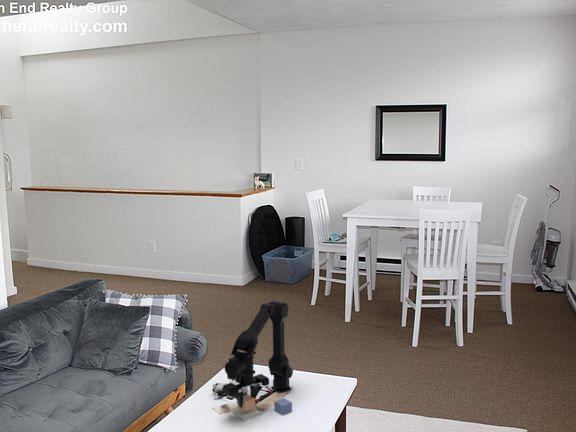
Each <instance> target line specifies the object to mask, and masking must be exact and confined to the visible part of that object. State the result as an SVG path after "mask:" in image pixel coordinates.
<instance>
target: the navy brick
mask: <svg viewBox="0 0 576 432" xmlns="http://www.w3.org/2000/svg"><path fill="white" fill-rule="evenodd" d="M273 404H274V405H273V407H274V409H273V410H274V412H275V413H277V414H279V415H281V416H284V415H287V414H290V413H291V412H293V402H292V401H290V400H288V399H286V398H280V399H278V400H275V401H274V403H273Z"/></svg>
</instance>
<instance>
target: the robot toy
mask: <svg viewBox="0 0 576 432" xmlns="http://www.w3.org/2000/svg"><path fill="white" fill-rule="evenodd" d="M229 383H233V384H234V385H237V384H239V382H238V383H237V382H236V380H233V381H232V379H230V381H228V383H227V382H223V383H222V382H221V383H219V382H218V383H217V382H216V383H213V384H212V387H213V388H212V392H213V396H214V397H221V396H224V395H226V394H225V393H224V392H222V387H223V386H224V385H226V384H229ZM248 387H249V386H248ZM248 387H245V388H242V389H241V392H242V393H244V394H245V393H247V391H248Z"/></svg>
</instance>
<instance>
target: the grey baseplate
mask: <svg viewBox="0 0 576 432" xmlns="http://www.w3.org/2000/svg"><path fill="white" fill-rule="evenodd" d="M231 412H232V414H233V415H235V416H237V418H239V419H240V420H241V421H247V420H249V419H252V418H254V417H257V416H260V415H261V411H260V410H258V409H257V408H255V409H252V410H249V411H246V412H244V411H242V410H241V409H239V408H237V409H234V410H231Z"/></svg>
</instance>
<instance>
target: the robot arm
mask: <svg viewBox="0 0 576 432" xmlns="http://www.w3.org/2000/svg"><path fill="white" fill-rule="evenodd" d="M288 314H289V305H288V304H287V303H286V302H283V301H278V300H271V301H270V302H266V303H265V302H264V303H262V304H261V305H260V308H259V310H258V312H257V313H256V315H255V317H254V318H253V320H252V322H251V324H250V325H249V326H248V327H247V329H245V330H244V331H241V333H240V334H239V335H238V336H237V338H236V340H235V342H234V345H233V347H232V350H231V353H230V355H231V356H233V357H230V358H228V361H227V362H226V363H225V364H224V372H225V373H226V377H227V378H226V379H228V380H232V381H233V380H236V382H237V383H238V382H239V384H237V385H234V384H233V383H229V382H228V383H229V384H228V383H227V384H226V385H224V386H223V387H222V392H224V393H225V394H224V395H226V396H228V397H233V396H235V398H236V401H237V405H238V404H239V407H241V408H242V404H243V396H244V395H245V393H242V392H241V389H242V388H245V387H249V390H250V392H249V393H250V394H249V395H250V396H252V397H253V398H255V400H256V398H257V396H258V395H259V393H260V391H261V390H262V389H263V387H266V386H268V385H270V378H269V377H268V376H266V375H264V374H263V373H260V374H256V370H254V355H255V354H256V353H257V351H256V348H257V345H258V343H259V335H260V334H261V332H262V331H263V329H264V328H265V325H266V324H267V322H268V321H269V320H270V321H271V323H272V356H271V357H270V358H269V359H268V369H269V374H270V376H273V380H272V386H271V389H272V390H275V391H276V392H278V393H279V394H280V393H284V392H287V391H291V390H292V386H291V387H290V379H291V378H292V377H293V374H294V370H293V368H292V367H291V366H290V363H289V358H288V357H287V355H286V354H285V353H286V352H285V321H286V319H287V317H288Z"/></svg>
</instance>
